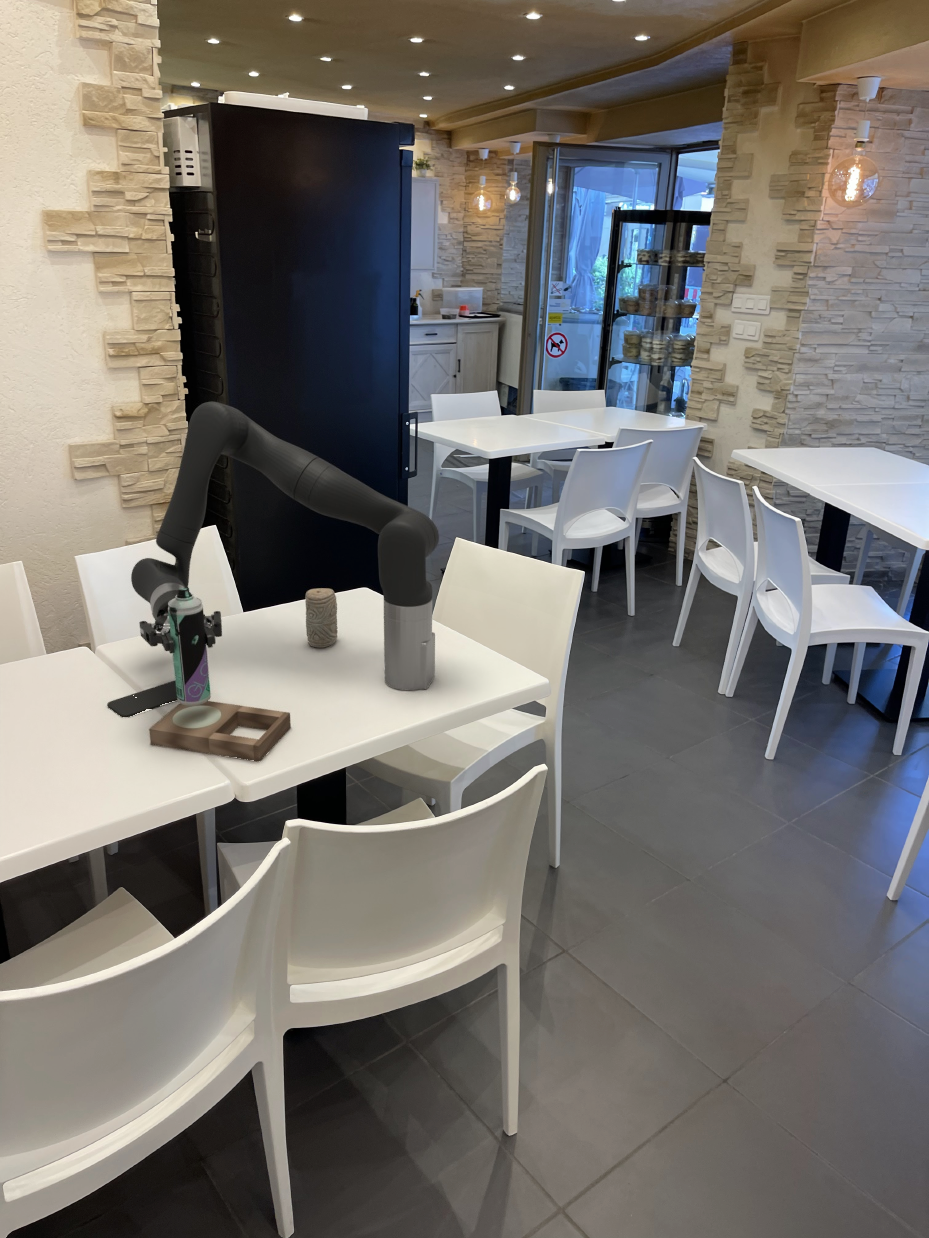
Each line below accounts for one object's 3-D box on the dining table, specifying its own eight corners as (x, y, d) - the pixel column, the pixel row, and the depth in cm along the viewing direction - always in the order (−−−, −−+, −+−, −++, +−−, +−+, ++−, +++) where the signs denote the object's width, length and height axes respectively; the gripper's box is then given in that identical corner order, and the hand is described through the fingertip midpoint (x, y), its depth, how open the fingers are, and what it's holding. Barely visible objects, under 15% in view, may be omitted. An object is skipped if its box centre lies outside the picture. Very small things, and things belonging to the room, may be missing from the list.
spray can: (202, 707, 150) (192, 595, 143) (171, 703, 151) (159, 592, 143) (215, 692, 155) (206, 584, 148) (186, 689, 156) (175, 581, 148)
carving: (301, 648, 190) (298, 595, 185) (316, 635, 196) (314, 583, 192) (328, 652, 188) (326, 598, 183) (343, 639, 195) (341, 587, 190)
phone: (199, 691, 169) (124, 716, 159) (199, 695, 170) (124, 720, 159) (179, 678, 174) (104, 702, 164) (179, 682, 174) (105, 706, 164)
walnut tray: (290, 727, 158) (289, 711, 157) (259, 762, 147) (258, 745, 146) (188, 712, 162) (186, 696, 161) (150, 744, 151) (148, 728, 150)
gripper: (129, 594, 156) (143, 630, 142) (213, 584, 162) (234, 617, 148) (134, 634, 159) (148, 673, 145) (216, 622, 165) (237, 658, 151)
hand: (191, 644), depth 147 cm, fingers closed on spray can, 5 cm apart
